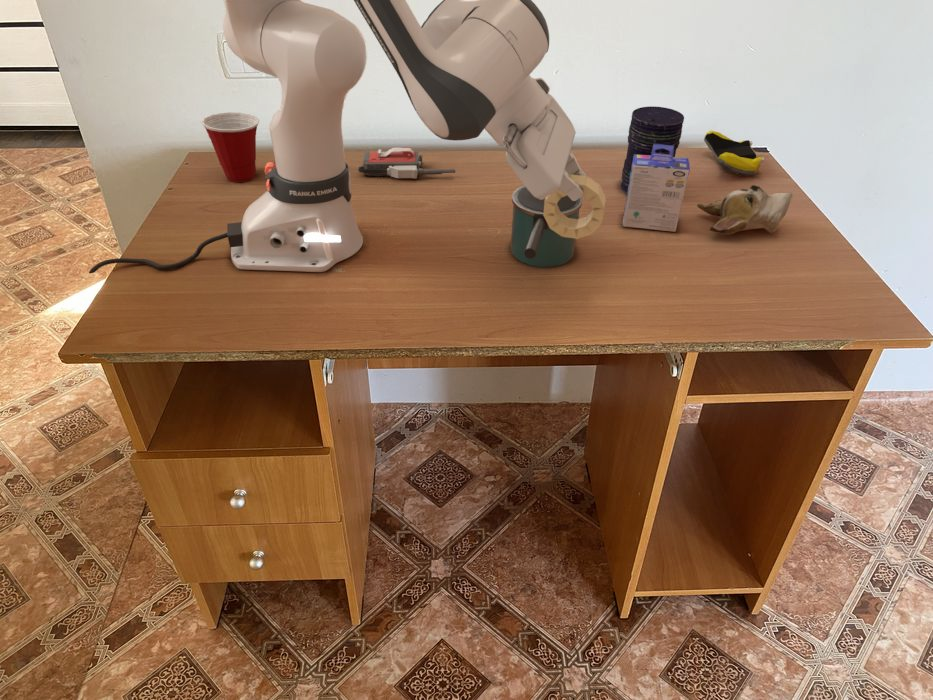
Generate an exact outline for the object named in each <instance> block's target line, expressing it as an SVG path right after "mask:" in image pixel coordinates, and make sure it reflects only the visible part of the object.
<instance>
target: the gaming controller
mask: <svg viewBox="0 0 933 700" xmlns="http://www.w3.org/2000/svg"><path fill="white" fill-rule="evenodd" d="M703 141H704V143H705V144H706V146H707V148H708V149H709V150H710V151H711V153H712V154H713V155H714V157H715V158H716V160H717V163H718V165H719V166H720V168H721V169H723V171H725V172H726V173H728V174H735V175H738V176H740V177H744V178H748V177H750V176H751V175H756V174H758V173H759V170H760V166H761V164H762V162H763V161H764V160H765V157H764V156H757V154H756V152H755V151H754V149H753V148H752V146H753V141H752V140H750V139H748V140H745V139H744V140H740V141H736V140H734V139H731V138H730V137H727V136H726V135H724V134H722V133H721V132H719V131H715V130H709V131H707V132H706V133H705V136H704V138H703Z"/></svg>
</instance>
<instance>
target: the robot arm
mask: <svg viewBox="0 0 933 700" xmlns="http://www.w3.org/2000/svg"><path fill="white" fill-rule="evenodd" d="M353 2H354V3H355V6H356V7H357V8H358V10H359V12H360V13H361V15H362V18H364V20H365V23H367V25H368V27H369V29H370V30H371V32H372V33H373V35H374V37H375V39H376V40H377V42H378V43H379V45H380V47H381V49H382V50H383V52H384V53H385V55H386V57H387V59H388V60H389V61H390V63H391V65H392V67H393V69H394V71H395V72H396V74H397V76H398V78H399V79H400V81H401V84H402V85H403V86H402V87H404V90H405V93H406V94H407V96H408V98H409V100H410V103H411V105H412V107H413V109H414V111H415V112H416V114H417V116H418V117H419V119H420V120H421V122H423V124H424V125H425V127H427V129H428V130H429V131H430V132H431V133H433V135H435V136H436V137H437V138H439V139H441V140H446V141H467V140H468V141H469V140H472V139H477V138H478V137H479V136H480V135H481V134H482V132H483V131H484V130H485V131H486V132H487V133H488V134H489V135H490V137H491V138H492V140H494V142H495V143H496V144H497V145H498V146H500V147H503V146H505V150H506V153H505V159H506V162H507V163H508V166H509V167H510V168H511V169H512V171H513V173H514V174H515V175H516V176H517V178H518V179H519V180H520V182H521V183H522V184H523V186H524V185H525V187H526V188H527V189H528V190H529V192H530V193H531V194H532V195H533V196H534V197H536V198H537V199H540V200H543V199H544V198H546V197H547V196H549V195H550V194H551V193H553V192H554V191H555V190H557V189H559V190H560V191H562V192H564V193H566V194H567V195H568V197H569V198H570V199H571V200H572V201H576V200H578V199H579V198H580V197H582V198H583V196H582V195H583V188H582V187H581V186H580V184H579V183H578V182H577V181H576V182H574V181H573V180H572V179H571V178H570V177H568V175H581V176H587V174H586V173H585V172H584V170H583V169H582V168H581V166H580V164H579V162H578V160H577V158H576V156H575V154H574V152H572V151H571V150H572V146H573V143H574V139H575V137H576V133H577V132H576V129H575V127H574V124H573V123H572V120H571V119H570V118H569V116H568V115H567V113H566V112H565V111H564V109H563V107H562V106H561V105H560V104H559V103H558V101H557V100H556V98H555V97H554V96H552V94H550V91H551V88H550V85H549V84H548V83H547V82H546V80H545V79H544V78H542V77H538V78H537V77H536V78H533V77H532V76H531V74H532V73H533V72H534V71H535V70H536V68H537V67H538V66H540V63H542V61H543V59H544V58H545V56H546V54H547V53H548V52H549V49H550V48H549V47H550V32H549V26H548V23H547V21H546V18H545V16H544V14H543V12H542V11H541V9H539V7H538V6H537V4H536V3H535V2H534V1H533V0H442V1H441V2H440V3H438V4H437V5H436V6H435V7H434V9H433V10H432V11H430V13H429V15H428V16H427V18H426V19H425V20H424V22H423V23H422V24H420V22H419V21H418V19H417V17H416V15H415V14H414V12H413V10H412V8H411V6H410V5H409V3H408V1H407V0H353ZM223 4H224V8H225V12H224V16H223V19H222V20H223V22H222V30H223V36H224V40H225V42H226V45H227V47H229V49H230V51H231V52H232V53H233V54H234V55H235V56H236V57H238V58H239V59H240V60H241V61H243V63H245V64H246V65H247V66H249V67H250V68H252V69H253V70H256V71H258V72H261V73H263V74H266V75H268V76H272V77H274V78H277V79H278V81H279V83H280V86H281V101H280V108H279V109H278V110H277V111H276V112H275V113H274V114H273V115H272V117H271V118H270V122H269V133H270V134H269V135H270V140H271V145H272V150H273V156H274V157H273V158H274V161H269V162H266V164H265V165H264V174H265V186H266V189H267V191H265V192H264V193H262V194H261V195H260V196H259V197H257V199H256V200H254V201H253V202H251V204H250V205H248V207H247V208H246V210H245V212H244V214H243V216H242V220H241V221H238V222H230V223H227V225H226V227H227V228H226V231H227V232H224V233H221V234H218V235H216V236H215V235H214V236H213V237H210V238H208V239H206V240H204V241H203V242H201V243H200V244H199V246H197V247H196V250H195V252H194V253H193V254H191V255H190V256H189V257H187V258H185V259H183V260H181V261H179V262H175V263H169V264H160V263H157V262H155V261H153V260H150V259H146V258H121V257H120V258H117V257H116V258H108V259H105V260H102V261H100V262H98V263H96V264H95V265H93V267H91V268H90V270H89V271H88V274H94V273H96V272H97V271H98V270H99V269H101V268H102V267H104V266H107V265H111V264H145V265H149V266H151V267H153V268H156V269H158V270H172V269H177V268H180V267H184V266H186V265H187V264H189V263H191V262H192V261H194V260H195V259H197V258H198V257H199V256H200V254H201V253H202V251H203V249H204V248H205V247H206V246H208V245H210V244H212V243H214V242H217V241H220V240H225V239H226V238H227V240H228V244H229V248H230V257H231V262H232V264H233V266H235V267H236V268H237V269H238V270H250V271H251V270H253V271H277V272H279V271H280V272H306V273H307V272H308V273H324V272H326V271H328V270H330V269H331V268H332V267H334V265H336V264H337V263H340V262H341V261H344V260H346V259H349V258H350V257H352V256H354V255H355V254H357V253H358V252H359V251H360V250H361V248H362V247H363V245H364V237H363V234H362V232H361V231H360V228H359V225H358V222H357V219H356V215H355V212H354V208H353V204H352V195H353V194H352V193H353V191H352V190H353V189H352V179H351V172H350V168H349V165H348V162H346V158H345V157H346V156H345V146H344V134H343V133H344V132H343V115H344V108H345V103H346V99H347V97H348V94H349V92H350V91H351V90H352V89H353V88H355V87H356V85H357V84H359V82H361V81H360V80H361V79H362V77H363V76H364V73H365V70H366V68H367V63H368V45H367V41H366V39H365V36H364V35H363V32H362V30H361V29H360V28H359V27H358V26H357V25H356V24H355V23H353V22H351V21H350V20H349V19H348V18H346V17H345V16H342V15H341V14H339V13H337V12H336V11H334V10H333V9H331V8H326V7H324V6H319V5H316V4H311V3H308V2H304V1H302V0H223Z"/></svg>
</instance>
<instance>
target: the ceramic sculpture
mask: <svg viewBox="0 0 933 700" xmlns="http://www.w3.org/2000/svg"><path fill="white" fill-rule="evenodd" d="M792 198H793V192H776V193H772V194H767V192H766V190H765V189H764V188H762V187H760V186H758V185H755V184H753V185H751V186H750V187H749V188H748V189H745V188H740V189H735V190H732V191H730V192H729V193H728V194H726V196H724V198H723V199H719V200H716V201H715V202H711V203H708V204H702V203H698V204H696V207H697V208H698V209H700V210H702V211H703V212H704V213H707V214H708V215H711V216H712V217H720V219H718V220H717V221H716V223H715V224H713V225H712V226H710V227H709V228H708V230H709V231H710V232H712V233H717V234H720V235H725V236H730V235H733V234H735V233H738V232H742V231H748V230H749V231H750V230H756V229H764V230H766V231H767V232H768V233H774V232H776V231H777V230H778V228H779V227H780V224H781V223H780V222H781V221H782V220H783V219H784V217H785V216H786V214H787V212H788V211H789V210H788V209H789V207H790V204H791V202H792Z"/></svg>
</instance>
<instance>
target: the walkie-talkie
mask: <svg viewBox="0 0 933 700" xmlns="http://www.w3.org/2000/svg"><path fill="white" fill-rule="evenodd" d="M362 161H363V166H359V167H358V168H357V170H358V172H359V173H361V174H363V173H364V175H365V176H368V177H383V176H385V177H391V178H395V179H414V180H415V179H418V176H425V175H442V174H455V173H456V169H454V168H428V169H427V168H421V167H420V166H422V165H423V155H422V154H420V155H419V151H417V150H414V149H413V148H412V147H407V146H406V147H392V148H390V149H388V150H387V151H382V149H380V148H379V149H378V150H377V151H364V153H363V160H362Z"/></svg>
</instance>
